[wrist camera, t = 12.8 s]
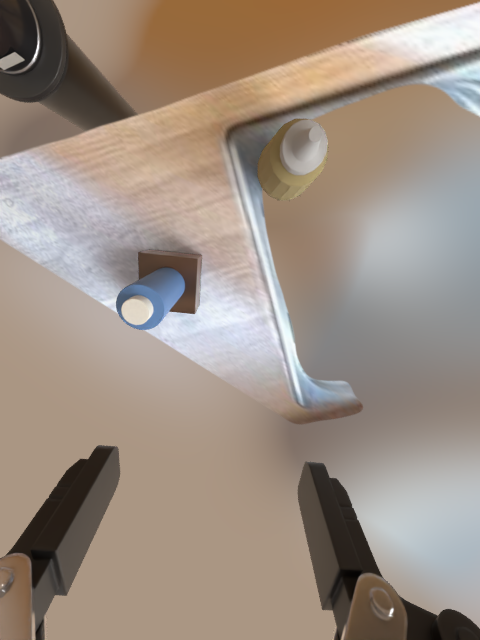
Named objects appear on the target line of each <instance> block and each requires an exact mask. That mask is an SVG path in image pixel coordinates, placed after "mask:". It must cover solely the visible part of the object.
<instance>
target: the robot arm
mask: <svg viewBox="0 0 480 640" xmlns="http://www.w3.org/2000/svg"><path fill="white" fill-rule="evenodd" d="M42 47H43V36H42V29H41V25H40V22H39V19H38V16H37V14H36V12H35V10H34V8H33V6H32V4H31V3H30V1H29V0H0V72H2V73H4V74H7V75H12V76H20V75H24V74H27V73H29V72H30V71H31V70H33V69H34V67H35V66H36V65H37V63H38V61H39V59H40V57H41V53H42ZM119 477H120V465H119V451H118V447H115V446H102V445H99V446H97V447H96V448H95V449H94V451H93V452H92V454H91V456H90V457H89V459H80V460H79V461H77V462H76V463H75V464H74V465H73V466H71V467H70V468H69V469H68V470H67V471H66V473H65V474H64V475H63V477H62V478H61V480H60V481H59V482H58V484H57V486H56V487H55V488H54V489H53V491H52V492H51V494H50V495H49V498H48V499H46V501H45V502H44V504H43V505H42V507H41V508H40V510H39V511H38V512H37V514H36V515H35V517H34V518H33V519H32V521H31V522H30V524H29V525H28V527H27V528H26V530H25V531H24V532H23V534H22V535H21V536H20V538H19V539H18V541H17V542H16V544H15V545H14V546H13V548H12V549H11V550H10V551H9V552H8V553H7V554H6V556H4V557H2V558H0V640H47V623H46V612H47V610H48V608H49V606H50V604H51V602H52V600H53V598H54V596H55V595H64V596H66V595H67V593H68V591H69V589H70V587H71V585H72V583H73V580H74V578H75V576H76V574H77V572H78V569H79V568H80V566H81V563H82V561H83V559H84V557H85V555H86V553H87V550H88V548H89V546H90V544H91V542H92V540H93V538H94V535H95V533H96V531H97V529H98V527H99V525H100V522H101V520H102V518H103V516H104V514H105V512H106V510H107V507H108V505H109V503H110V501H111V499H112V497H113V495H114V492H115V490H116V487H117V485H118V481H119ZM298 500H299V506H300V511H301V515H302V519H303V524H304V529H305V533H306V538H307V542H308V547H309V551H310V556H311V560H312V565H313V570H314V574H315V579H316V583H317V588H318V592H319V597H320V601H321V606H322V610H333V613H334V617H335V621H336V627H335V630H334V634H333V637H332V640H480V629H479V628H478V627H477V625H476V624H474V623H473V622H472V621H471V620H470V619H468V618H467V617H466V616H464V615H463V614H461V613H460V612H457V611H455V610H451V609H446V610H443V611H442V612H441V613H440V614H439V615H438V616H437V615H435V614H433V613H431V612H429V611H426V610H424V609H422V608H420V607H418V606H416V605H414V604H411V603H410V602H408V601H406V600H404V599H403V598H401V597H400V596H399V595H398V594H397V592H396V591H395V589H394V588H393V587H392V586H391V585H390V584H389V583H388V582H387V581H386V580H385V579H384V578H383V577H382V575H381V573H380V571H379V569H378V567H377V565H376V562H375V560H374V557H373V555H372V552H371V550H370V547H369V545H368V542H367V541H366V538H365V535H364V533H363V530H362V528H361V525H360V523H359V521H358V520H357V516H356V513H355V511H354V509H353V508H352V504H351V501H350V499H349V496H348V494H347V492H346V490H345V489H344V487H343V486H342V485H341V484H340V482H339V481H338V480H337V479H336V478H329V475H328V472H327V470H326V467H325V465H324V464H323V463H314V462H305V464H304V467H303V470H302V474H301V478H300V481H299V485H298Z"/></svg>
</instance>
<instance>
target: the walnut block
mask: <svg viewBox="0 0 480 640" xmlns="http://www.w3.org/2000/svg"><path fill="white" fill-rule="evenodd" d="M138 261H139V280H140V279H142V278H144V277H145V276H147V275H149V274H151V273H153V272H154V271H156V270H158V269H160V268H165V267H167V268H172V269H174V270H176V271H178V272H179V273H180V274H181V276H182V277H183V279H184V282H185V290H184V293H183V294H182V296H181V297H180V298H179V299H178V301H177V302H176V303H175V304H174V306H173V307H172V308H171V309H170V311H169V312H180V313H190V314H195V313H196V311H197V309H198V307H199V302H200V284H201V266H202V255H195V254H186V253H177V252H168V251H159V250H150V249H149V250H145V251H142V252H138Z"/></svg>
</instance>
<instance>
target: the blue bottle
mask: <svg viewBox="0 0 480 640" xmlns="http://www.w3.org/2000/svg"><path fill="white" fill-rule="evenodd" d="M184 290H185V282H184V279H183V277H182V276H181V274H180V273H179V272H178V271H176V270H174V269H172V268H167V267H165V268H160V269H158V270H156V271H154V272H153V273H151V274H149V275H147V276H145V277H144V278H142V279H140V280H138V281H136V282H134V283H133V284H131V285H129V286H127V287H125V288H124V289H123V290H122V291H121V292H120V293H119V295H118V297H117V301H116V308H117V312H118V314H119V316H120V317H121V319H122V320H123V321H124V322H125V323H126V324H127V325H129V326H131V327H133V328H136V329H140V330H147V329H151V328H154V327H155V326H157V325H158V324H159V323H160V322H161V321H162V319H163V318H164V317H165V316H166V314H167V313H168V312H169V311H170V309H171V308H172V307H173V306H174V304H175V303H176V302H177V301H178V299H179V298H180V297H181V296H182V294H183V293H184Z"/></svg>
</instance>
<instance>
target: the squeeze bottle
mask: <svg viewBox="0 0 480 640" xmlns="http://www.w3.org/2000/svg"><path fill="white" fill-rule="evenodd" d="M327 143H328V141H327V137H326V133H325V131H324V129H323V128H322V127H321V125H320V124H319V123H317V122H315V121H313V120H308V119H294V120H292V121H290V122H288V123H286V124H284V125H283V126H282V127H281V128H280V130H279V131H278V132H277V133H276V134H275V135H274V137H273V138H272V139H271V140H270V142H269V143H268V144H267V145H266V147H265V148H264V149H263V150H262V153H261V156H260V158H259V161H258V179H259V181H260V184H261V187H262V188H263V190H264V191H265V192H266V193H267V194H268V195H269V196H270V197H273V198H275V199H277V200H291V199H293V198H296V197H298V196H300V195H301V194H302V193H303V192H304V191H305V190H306V189H307V188H308V187H309V185H310V184H311V183H312V182H313V181H314V180H315V179H316V177H317V176H318V175H319V174H320V173H321V172H322V170H323V168H324V165H325V163H326V161H327V154H328V145H327Z"/></svg>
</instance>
